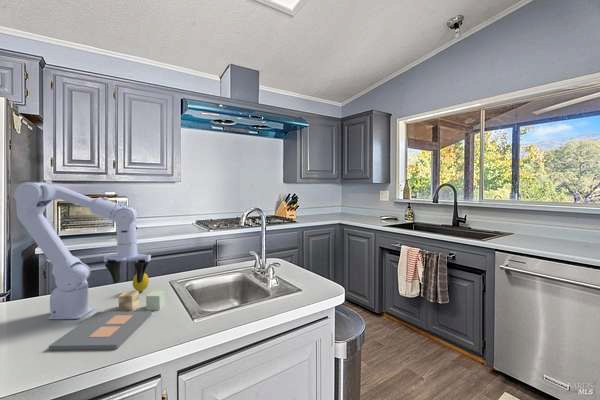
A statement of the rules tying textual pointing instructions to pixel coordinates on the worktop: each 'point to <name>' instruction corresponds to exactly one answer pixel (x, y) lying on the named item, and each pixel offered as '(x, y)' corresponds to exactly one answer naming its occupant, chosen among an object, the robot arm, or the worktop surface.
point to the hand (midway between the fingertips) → (128, 282)
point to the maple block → (128, 300)
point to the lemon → (141, 285)
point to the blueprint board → (102, 331)
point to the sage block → (155, 300)
